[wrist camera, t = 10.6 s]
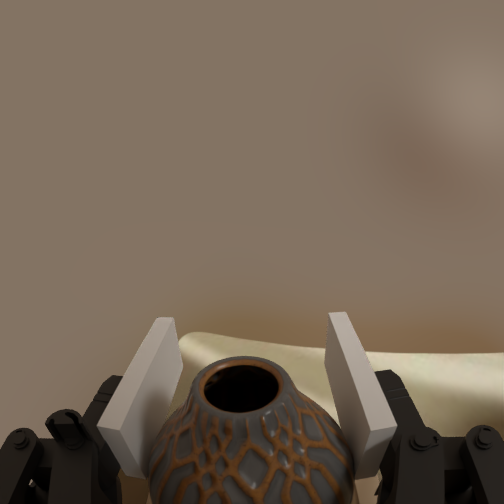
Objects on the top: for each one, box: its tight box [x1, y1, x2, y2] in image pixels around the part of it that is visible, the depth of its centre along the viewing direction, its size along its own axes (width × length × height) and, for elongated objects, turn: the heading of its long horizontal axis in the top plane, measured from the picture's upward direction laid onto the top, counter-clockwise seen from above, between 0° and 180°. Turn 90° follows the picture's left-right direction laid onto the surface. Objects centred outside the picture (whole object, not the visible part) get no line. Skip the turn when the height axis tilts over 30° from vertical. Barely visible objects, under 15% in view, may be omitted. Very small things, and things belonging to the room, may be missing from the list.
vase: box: [148, 356, 355, 504], centre depth 8 cm, size 7×7×9 cm
